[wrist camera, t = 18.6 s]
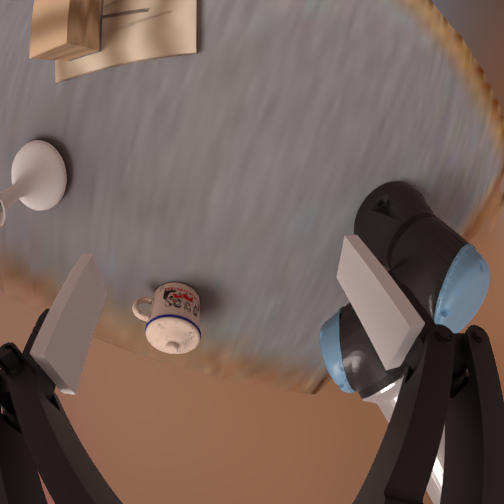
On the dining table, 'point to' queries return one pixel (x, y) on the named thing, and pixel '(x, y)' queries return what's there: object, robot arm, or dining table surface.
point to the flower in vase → (35, 178)
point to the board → (138, 35)
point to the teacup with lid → (172, 318)
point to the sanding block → (66, 29)
